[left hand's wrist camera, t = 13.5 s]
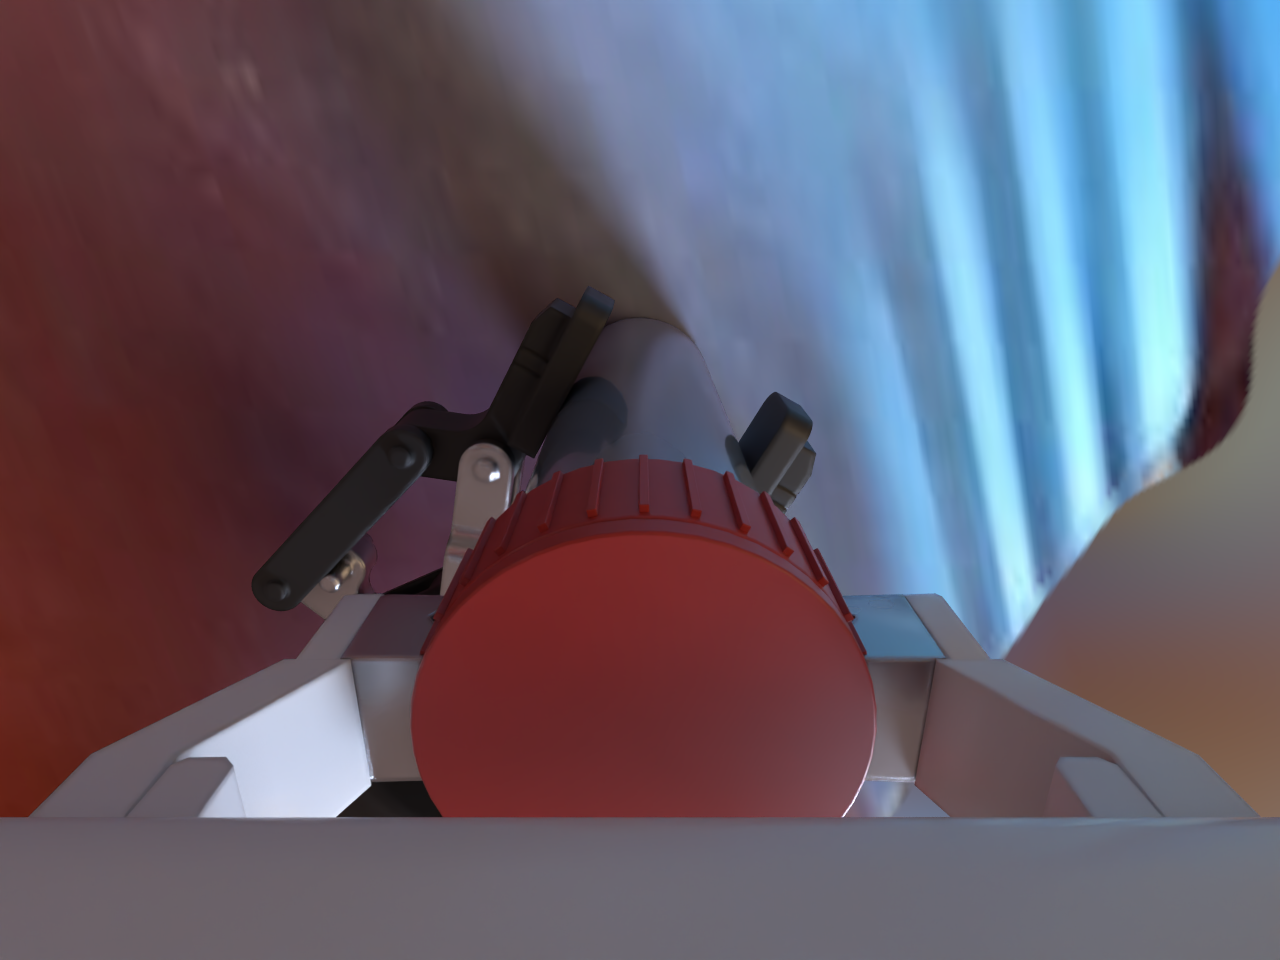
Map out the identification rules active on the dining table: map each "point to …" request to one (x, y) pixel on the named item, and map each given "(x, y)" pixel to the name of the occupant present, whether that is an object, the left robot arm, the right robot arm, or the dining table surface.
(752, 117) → the dining table surface
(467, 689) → the lid
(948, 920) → the left robot arm
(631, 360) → the bottle
